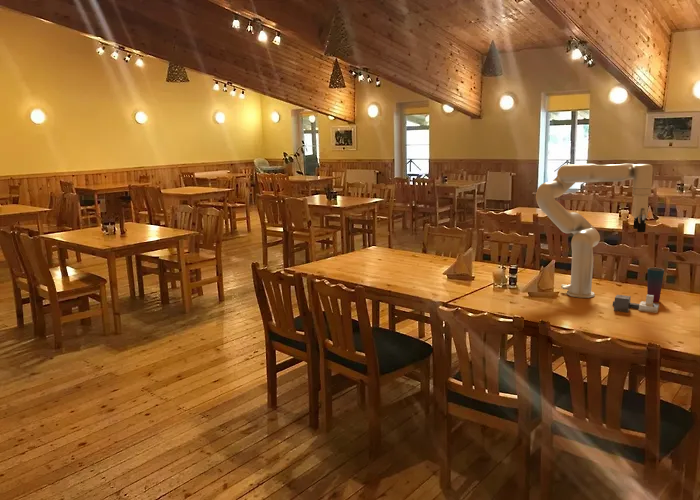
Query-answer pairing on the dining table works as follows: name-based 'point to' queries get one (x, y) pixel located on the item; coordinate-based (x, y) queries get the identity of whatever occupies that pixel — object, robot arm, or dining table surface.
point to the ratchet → (646, 305)
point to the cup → (655, 282)
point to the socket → (622, 303)
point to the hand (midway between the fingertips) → (639, 230)
